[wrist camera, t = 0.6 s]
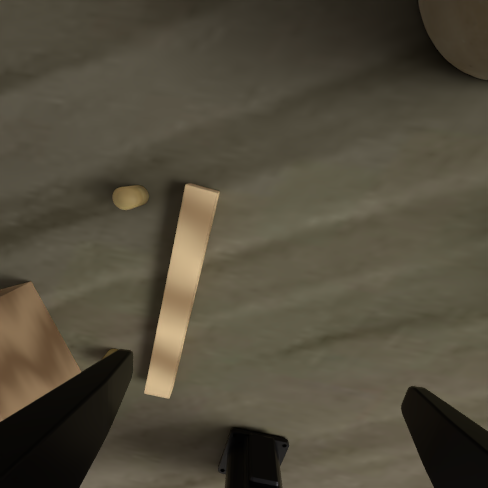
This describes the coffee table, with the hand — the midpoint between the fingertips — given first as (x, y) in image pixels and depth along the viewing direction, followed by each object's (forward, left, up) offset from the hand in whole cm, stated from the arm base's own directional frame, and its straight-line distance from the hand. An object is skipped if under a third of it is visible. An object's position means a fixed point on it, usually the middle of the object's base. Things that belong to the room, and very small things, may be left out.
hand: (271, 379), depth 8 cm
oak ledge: (-6, +8, -14) cm, 17 cm away
